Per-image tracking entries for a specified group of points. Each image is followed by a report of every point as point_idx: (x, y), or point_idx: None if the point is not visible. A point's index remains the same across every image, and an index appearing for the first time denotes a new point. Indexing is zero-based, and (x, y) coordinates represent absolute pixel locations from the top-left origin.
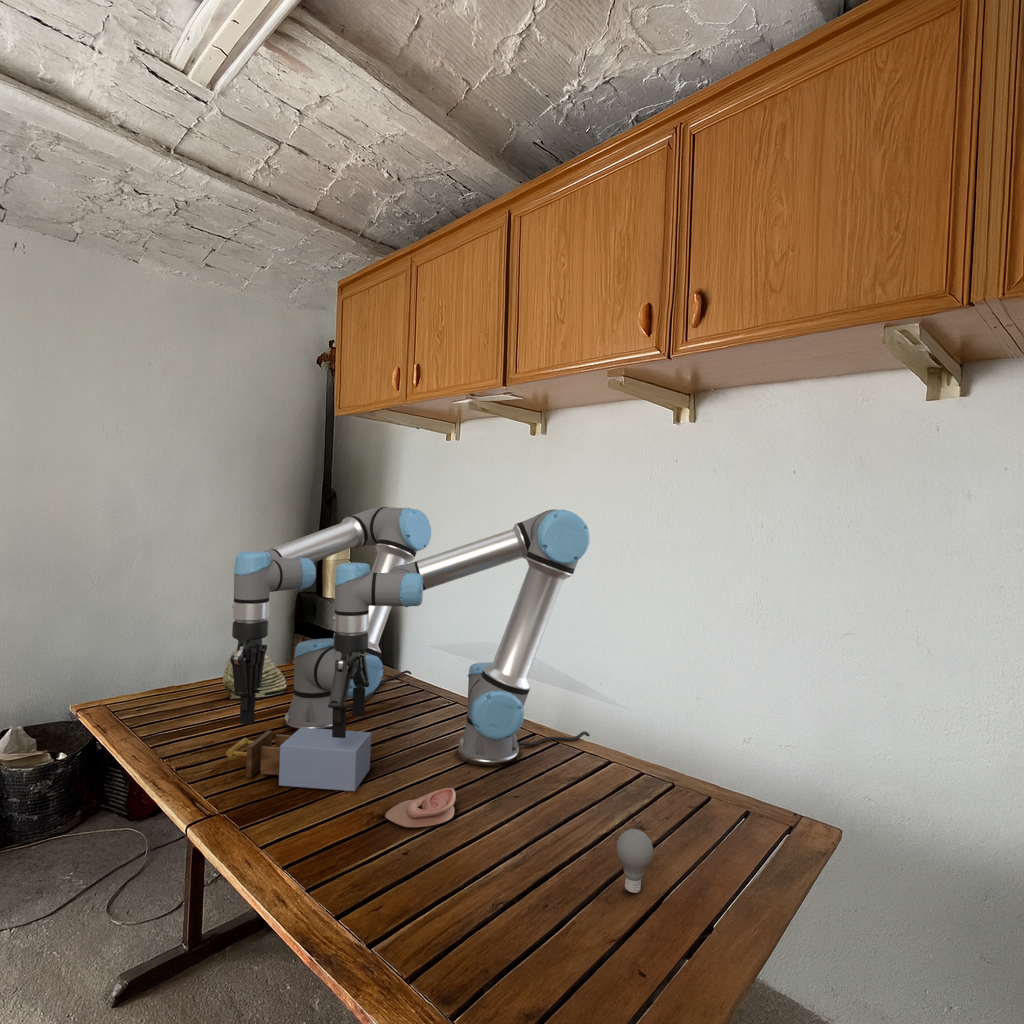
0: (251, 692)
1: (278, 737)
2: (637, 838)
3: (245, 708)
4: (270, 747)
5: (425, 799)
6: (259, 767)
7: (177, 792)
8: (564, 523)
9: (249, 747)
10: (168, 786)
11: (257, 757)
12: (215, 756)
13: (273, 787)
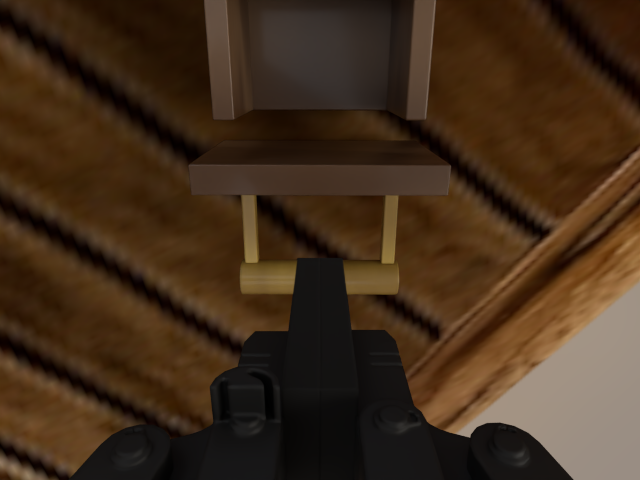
0: (367, 427)
1: (234, 99)
2: None
3: (397, 351)
4: (420, 64)
5: None
6: (340, 141)
7: (506, 335)
8: None
9: (449, 179)
10: (465, 379)
11: (369, 150)
12: (219, 362)
13: (451, 17)
